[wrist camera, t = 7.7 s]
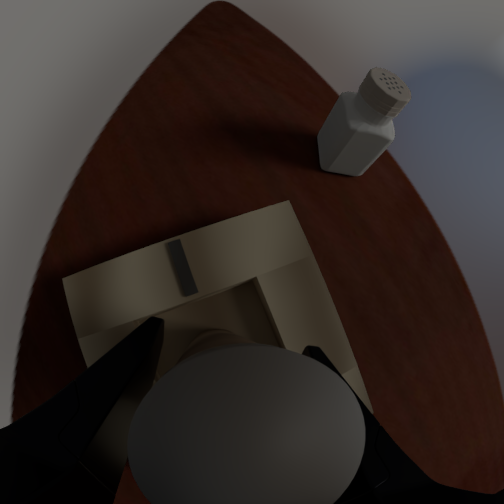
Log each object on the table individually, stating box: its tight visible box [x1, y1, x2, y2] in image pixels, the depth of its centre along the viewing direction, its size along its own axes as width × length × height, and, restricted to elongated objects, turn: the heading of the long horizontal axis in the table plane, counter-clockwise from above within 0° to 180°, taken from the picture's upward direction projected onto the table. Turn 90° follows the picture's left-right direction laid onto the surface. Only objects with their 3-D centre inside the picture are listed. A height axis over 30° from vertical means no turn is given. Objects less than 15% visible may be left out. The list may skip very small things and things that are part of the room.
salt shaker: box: [317, 67, 411, 176], centre depth 19 cm, size 4×4×10 cm
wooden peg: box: [127, 329, 365, 504], centre depth 9 cm, size 4×4×12 cm
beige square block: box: [62, 200, 373, 414], centre depth 16 cm, size 14×14×4 cm
